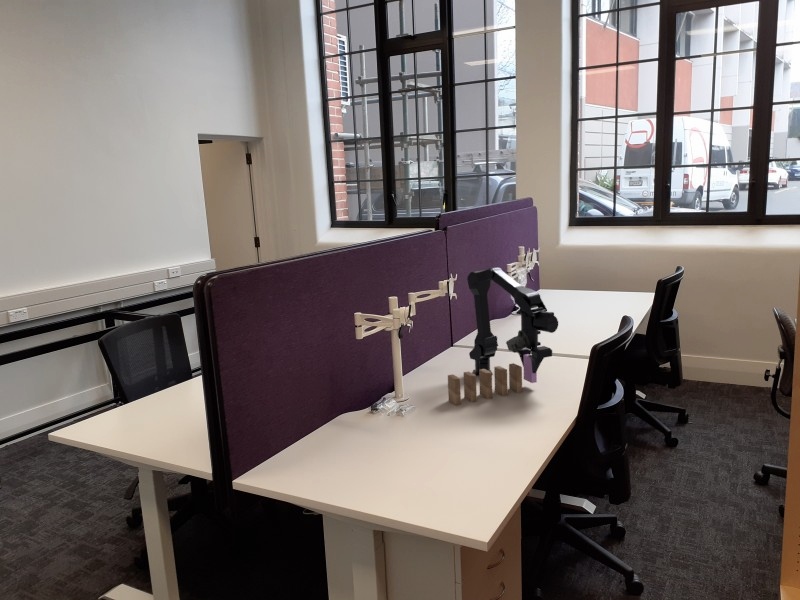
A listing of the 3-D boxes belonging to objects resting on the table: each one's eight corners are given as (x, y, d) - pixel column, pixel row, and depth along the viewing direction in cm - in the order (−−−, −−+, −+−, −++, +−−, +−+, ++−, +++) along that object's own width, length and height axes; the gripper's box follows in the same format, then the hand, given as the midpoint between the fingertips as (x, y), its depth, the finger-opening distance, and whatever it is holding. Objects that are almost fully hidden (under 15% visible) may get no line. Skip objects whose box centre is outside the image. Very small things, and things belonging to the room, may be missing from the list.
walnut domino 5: (514, 387, 216) (513, 363, 214) (522, 391, 212) (521, 366, 210) (509, 388, 215) (508, 364, 214) (517, 392, 211) (516, 367, 209)
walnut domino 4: (499, 390, 214) (499, 365, 212) (507, 394, 209) (507, 369, 208) (494, 391, 213) (494, 366, 212) (502, 395, 209) (502, 370, 207)
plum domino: (528, 378, 218) (528, 353, 216) (536, 382, 213) (536, 357, 212) (523, 379, 217) (523, 354, 216) (531, 383, 213) (531, 358, 211)
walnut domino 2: (469, 396, 210) (468, 371, 208) (476, 401, 205) (476, 375, 203) (464, 397, 209) (463, 372, 207) (471, 402, 204) (470, 376, 203)
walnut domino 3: (484, 393, 212) (484, 368, 210) (492, 397, 207) (491, 372, 205) (479, 394, 211) (479, 369, 209) (487, 398, 206) (486, 373, 205)
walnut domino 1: (453, 399, 207) (453, 374, 206) (460, 404, 203) (460, 378, 201) (448, 400, 207) (447, 375, 205) (455, 405, 202) (454, 379, 200)
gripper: (495, 325, 217) (496, 367, 220) (525, 336, 200) (525, 382, 203) (521, 321, 221) (522, 363, 224) (553, 332, 204) (553, 376, 207)
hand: (529, 371), depth 215 cm, fingers closed on plum domino, 5 cm apart
